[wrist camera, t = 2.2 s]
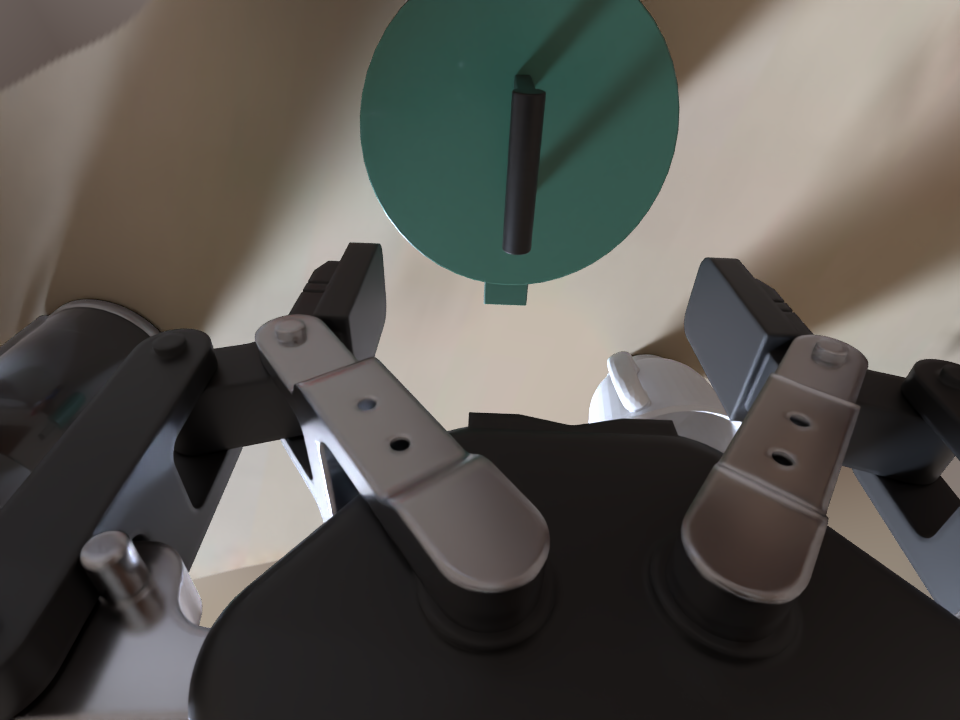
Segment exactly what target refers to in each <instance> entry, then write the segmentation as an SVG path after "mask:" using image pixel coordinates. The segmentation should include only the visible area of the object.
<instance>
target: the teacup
mask: <svg viewBox="0 0 960 720" xmlns="http://www.w3.org/2000/svg"><path fill="white" fill-rule="evenodd" d="M607 364H608V370H609V374H608V375H607V377H606V378H605V379H604V380H603V381H602V382H601V383H600V385H599V386H598V388H597V390H596V391H595V393H594V396H593V398H592V401H591V406H590V410H589V423H595V422H601V421H608V420H614V419H621V418H628V419H654V420H672V421H673V423H674V426H675V428H676V431H677V433H678V435H679V436H683V437H687V438H690V439H693V440H696V441H699V442H701V443H704V444H707V445H709V446H711V447H713V448H715V449H717V450H719V451H721V452H723V453H724V452H725V450H726V449H727V447H728V445H729V443H730V442H731V440H732V438H733V437H734V435H735V433H736V432H737V430H738V428H739V426H740V425H741V423H742V422H735V421H730V419H729V417H728V415H727V413H726V412H725V410H724V408H723V406H722V404H721V402H720V400H719V398H718V396H717V394H716V392H715V391H714V389H713V388H712V387H711V385H710V384H709V383H708V382H707V381H706V380H705V379H704V378H703V377H702V376H701V375H700V374H699V373H698V372H696V371H695V370H694V369H692V368H690V367H689V366H687V365H685V364H683V363H680V362H678V361H675V360H671V359H666V358H661V357H659V356H656V355H648V354H644V355H636V356H631V355H630V354H629V353H628V352H625V351H622V352H618V353H616V354H613V355H612V356H611V357H609V359H608V361H607Z"/></svg>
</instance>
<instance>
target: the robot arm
mask: <svg viewBox="0 0 960 720" xmlns="http://www.w3.org/2000/svg"><path fill="white" fill-rule="evenodd" d="M385 318H386V292H385V279H384V267H383V254H382V248H381V245H380V244H376V243H351V242H350V243H349V245H348V247H347V249H346V250H345V252H344V254H343V256H342V258H341V260H340V261H328V262H326V263H325V264H323V265H322V266H320V267H319V268H317V269H316V270H314V272H313V274H312V275H311V277H310V279H309V280H308V283H307V284H306V286H305V287H304V289H303V292H301V294H300V296H299V298H298V299H297V301H296V303H295V304H294V306H293V308H292V310H291V311H290V313H289V315H286V316H282V317H278V318H275V319H272V320H270V321H268V322H266V323H265V324H263V325H262V326H261V327H260V328H259V329H258V330H257V332H256V334H255V341H256V342H252V343H248V344H243V345H237V346H230V347H223V348H216V349H213V345H212V342H211V339H210V337H209V336H208V335H207V334H206V333H204V332H202V331H199V330H195V329H175V330H169V331H165V332H161V333H160V332H159V331H158V330H157V329H156V328H155V327H154V326H153V325H152V324H151V323H150V322H148V321H147V320H146V319H144V318H143V317H141V316H140V315H138V314H136V313H135V312H133V311H131V310H129V309H127V308H124V307H122V306H119V305H117V304H113V303H110V302H106V301H101V300H92V299H84V300H76V301H72V302H69V303H66V304H64V305H63V306H61V307H59V308H58V309H57V310H56V311H54V312H53V313H52V314H51V315H50V316H45V315H42V316H39V317H38V318H37V319H36V320H34V321H33V322H32V323H30V324H29V325H28V326H27V327H25V328H24V329H23V330H21V331H20V332H19V333H17V334H16V335H15V336H14V337H12V338H11V339H10V340H8V341H7V342H6V343H5V344H3V345H2V346H1V347H0V720H960V499H959V498H958V497H957V496H956V494H955V493H954V492H953V491H952V489H951V488H950V487H949V486H948V484H947V483H946V482H945V481H944V479H943V478H942V477H941V476H940V475H941V473H942V472H943V471H944V470H945V468H946V467H947V466H948V465H949V463H950V462H951V461H952V460H953V458H954V457H955V456H956V457H957V458H958V459H959V461H960V365H959V364H956V363H952V362H949V361H944V360H937V359H924V360H920V361H918V362H916V363H915V365H914V366H913V368H912V369H911V371H910V372H909V374H908V376H907V377H906V378H904V377H900V376H895V375H890V374H886V373H881V372H876V371H872V370H868V369H867V368H868V361H867V359H866V357H865V356H864V355H863V354H862V353H861V352H860V351H858V350H857V349H856V348H854V347H852V346H851V345H849V344H847V343H845V342H842V341H840V340H837V339H834V338H831V337H826V336H821V335H814V334H813V333H812V332H811V331H810V330H809V329H808V328H807V326H806V325H805V324H804V323H803V322H802V321H801V319H800V318H799V317H798V316H797V315H796V314H795V313H793V312H792V309H791V308H790V307H789V306H788V305H787V303H784V300H783V299H782V298H781V297H780V295H779V294H778V293H777V292H776V291H775V290H774V289H773V288H771V287H770V286H768V285H766V284H765V283H763V282H761V281H760V280H758V279H755V278H754V277H753V276H752V275H751V273H750V272H749V271H748V270H747V269H746V267H745V266H744V265H743V264H742V263H741V262H740V260H738V259H732V258H705V259H704V260H703V261H702V262H701V264H700V267H699V270H698V273H697V276H696V279H695V283H694V286H693V289H692V293H691V296H690V299H689V303H688V306H687V309H686V313H685V319H684V330H685V334H686V337H687V339H688V341H689V343H690V345H691V347H692V349H693V350H694V352H695V354H696V356H697V358H698V360H699V362H700V364H701V366H702V368H703V370H704V371H705V373H706V375H707V377H708V379H709V381H710V383H711V385H712V387H713V389H714V391H715V392H716V394H717V396H718V398H719V400H720V402H721V404H722V406H723V408H724V410H725V412H726V413H727V415H728V417H729V419H730V421H735V422H742V423H741V425H740V426H739V428H738V430H737V432H736V433H735V435H734V437H733V438H732V440H731V442H730V443H729V445H728V447H727V449H726V450H725V452H724V453H723V452H721V451H719V450H717V449H715V448H713V447H711V446H709V445H707V444H704V443H701V442H699V441H696V440H693V439H690V438H687V437H683V436H679V435H678V433H677V431H676V428H675V426H674V423H673V421H672V420H654V419H628V418H621V419H614V420H608V421H601V422H595V423H588V424H581V425H566V424H562V423H557V422H552V421H548V420H543V419H538V418H534V417H529V416H525V415H520V414H498V413H472V412H469V424H468V427H464V428H458V429H454V430H451V431H446V430H445V429H444V428H443V427H442V426H441V424H440V423H439V422H438V421H437V420H436V419H435V418H434V417H433V416H432V415H431V414H430V413H429V412H428V411H427V410H426V409H425V408H424V407H423V406H422V405H421V404H420V402H419V401H418V400H417V399H416V398H415V397H414V396H413V395H412V394H411V393H410V392H409V391H408V390H407V389H406V388H405V387H404V386H403V385H402V384H401V383H400V381H399V380H398V379H397V378H396V377H395V376H394V375H393V374H392V373H391V372H390V371H389V370H388V369H387V368H386V367H385V366H384V365H383V364H382V363H381V362H380V361H379V360H378V359H377V358H376V357H375V353H376V350H377V347H378V343H379V340H380V337H381V333H382V330H383V327H384V323H385ZM275 440H281V442H282V445H283V446H284V448H285V450H286V451H287V453H288V455H289V456H290V458H291V460H292V461H293V463H294V465H295V466H296V468H297V470H298V471H299V473H300V475H301V476H302V478H303V480H304V481H305V483H306V485H307V486H308V488H309V490H310V491H311V493H312V495H313V497H314V498H315V501H316V503H317V505H318V508H319V510H320V513H321V516H322V519H323V521H324V523H323V524H322V525H321V526H320V527H319V528H317V529H316V530H315V531H314V532H313V533H311V534H310V535H309V536H308V537H307V538H305V539H304V540H303V541H302V542H300V543H299V544H298V545H297V546H296V547H294V548H293V549H292V550H291V551H290V552H288V553H287V554H286V555H285V556H284V557H282V558H281V559H280V560H279V561H277V562H276V563H275V564H274V565H273V566H271V567H270V568H269V569H268V570H267V571H265V572H264V573H263V574H262V575H261V576H259V577H258V578H257V579H256V580H254V581H253V582H252V583H251V584H250V585H248V586H247V587H246V588H245V589H244V590H243V591H242V592H241V593H239V594H238V595H237V596H236V597H235V598H234V599H233V600H232V601H231V602H230V603H229V605H228V606H227V607H226V608H225V609H224V610H223V612H222V613H221V614H220V616H219V617H218V618H217V620H216V622H215V623H214V624H213V626H212V627H211V628H206V627H202V626H199V624H200V619H201V615H202V601H201V598H200V596H199V593H198V592H197V589H196V587H195V585H194V583H193V581H192V579H191V577H190V575H189V571H190V568H191V566H192V564H193V562H194V559H195V557H196V555H197V552H198V550H199V548H200V545H201V543H202V541H203V538H204V536H205V534H206V531H207V529H208V527H209V525H210V522H211V520H212V518H213V515H214V513H215V511H216V508H217V506H218V504H219V501H220V499H221V497H222V495H223V492H224V490H225V488H226V485H227V483H228V481H229V478H230V476H231V474H232V471H233V469H234V467H235V464H236V462H237V460H238V458H239V455H240V453H241V450H242V447H244V446H249V445H254V444H259V443H264V442H269V441H275ZM842 466H845V467H849V468H852V470H853V473H854V474H855V476H856V478H857V479H858V481H859V482H860V484H861V486H862V487H863V489H864V490H865V492H866V494H867V495H868V497H869V498H870V500H871V501H872V503H873V505H874V506H875V508H876V509H877V511H878V512H879V514H880V515H881V517H882V519H883V520H884V522H885V523H886V525H887V526H888V528H889V530H890V531H891V533H892V535H893V536H894V538H895V539H896V541H897V542H898V544H899V546H900V547H901V549H902V550H903V552H904V553H905V555H906V557H907V558H908V560H909V561H910V563H911V564H912V566H913V568H914V569H915V571H916V572H917V574H918V576H919V577H920V579H921V580H922V582H923V583H924V585H925V587H926V588H927V590H928V591H929V593H930V594H931V596H932V597H933V599H934V600H932V599H931V598H929V597H928V596H926V595H925V594H924V593H922V592H921V591H920V590H918V589H917V588H915V587H914V586H912V585H911V584H910V583H908V582H907V581H905V580H904V579H902V578H901V577H900V576H898V575H896V574H895V573H894V572H893V571H891V570H890V569H888V568H887V567H885V566H884V565H883V564H881V563H880V562H879V561H877V560H876V559H874V558H873V557H871V556H870V555H869V554H867V553H866V552H864V551H863V550H861V549H860V548H859V547H857V546H856V545H854V544H853V543H852V542H850V541H849V540H847V539H846V538H845V537H843V536H842V535H840V534H839V533H837V532H836V531H835V530H833V529H832V528H830V527H829V526H827V524H828V517H827V516H826V514H827V509H828V506H829V503H830V500H831V497H832V494H833V491H834V488H835V485H836V482H837V479H838V476H839V473H840V470H841V467H842Z"/></svg>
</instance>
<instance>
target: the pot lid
mask: <svg viewBox="0 0 960 720" xmlns="http://www.w3.org/2000/svg"><path fill="white" fill-rule="evenodd" d="M678 126H679V96H678V84H677V79H676V75H675V70H674V65H673V61H672V58H671V56H670V53H669V50H668V47H667V44H666V42H665V39H664V37H663V35H662V34H661V32H660V30H659V28H658V26H657V24H656V22H655V20H654V19H653V17H652V16H651V15H650V13H649V12H648V11H647V9H646V8H645V7H644V5H643V4H642V2H641V1H640V0H408V1H407V2H406V3H405V4H404V5H403V6H402V7H401V8H400V10H399V11H398V13H397V14H396V15H395V17H394V18H393V20H392V21H391V22H390V24H389V25H388V27H387V28H386V30H385V32H384V34H383V36H382V38H381V39H380V41H379V43H378V45H377V47H376V49H375V52H374V54H373V57H372V60H371V62H370V65H369V68H368V71H367V74H366V79H365V83H364V88H363V92H362V100H361V110H360V139H361V145H362V152H363V158H364V162H365V166H366V170H367V173H368V177H369V180H370V182H371V185H372V187H373V190H374V192H375V194H376V197H377V199H378V201H379V202H380V204H381V206H382V208H383V210H384V211H385V213H386V215H387V216H388V218H389V219H390V220H391V222H392V223H393V224H394V226H395V227H396V228H397V230H398V231H399V232H400V233H401V234H402V235H403V236H404V237H405V238H406V239H407V241H408V242H409V243H410V244H411V245H412V246H414V247H415V248H416V249H417V250H418V251H420V252H421V253H422V254H423V255H425V256H426V257H427V258H429V259H430V260H432V261H434V262H435V263H437V264H438V265H440V266H442V267H444V268H446V269H448V270H450V271H452V272H454V273H456V274H459V275H462V276H465V277H467V278H470V279H473V280H478V281H482V282H487V283H493V284H503V285H526V284H533V283H541V282H546V281H550V280H553V279H557V278H561V277H564V276H566V275H569V274H571V273H574V272H577V271H579V270H581V269H583V268H585V267H586V266H588V265H590V264H592V263H594V262H596V261H597V260H599V259H600V258H602V257H603V256H604V255H606V254H607V253H609V252H610V251H611V250H613V249H614V248H615V247H616V246H617V245H618V244H620V243H621V242H622V241H623V240H624V239H625V238H626V237H627V236H628V235H629V234H630V233H631V232H632V231H633V230H634V229H635V228H636V226H637V225H638V224H639V223H640V221H641V220H642V219H643V217H644V216H645V215H646V213H647V212H648V211H649V209H650V207H651V206H652V204H653V202H654V201H655V199H656V197H657V195H658V194H659V192H660V190H661V188H662V185H663V183H664V181H665V178H666V176H667V174H668V171H669V168H670V165H671V161H672V158H673V155H674V152H675V146H676V140H677V134H678Z"/></svg>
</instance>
